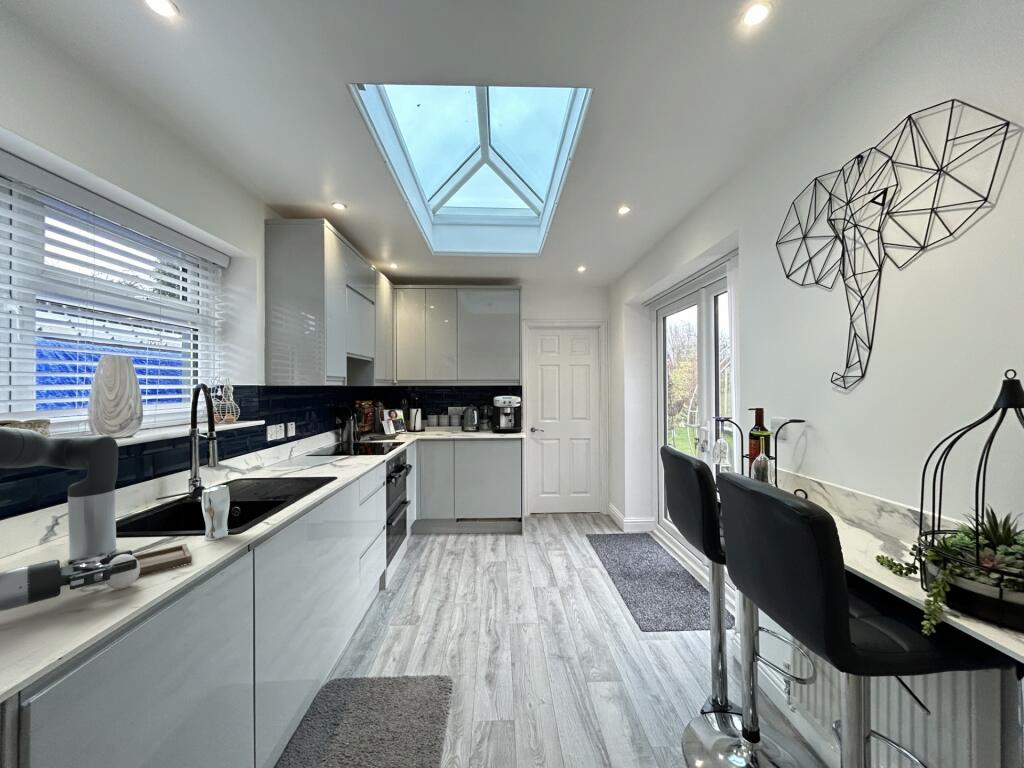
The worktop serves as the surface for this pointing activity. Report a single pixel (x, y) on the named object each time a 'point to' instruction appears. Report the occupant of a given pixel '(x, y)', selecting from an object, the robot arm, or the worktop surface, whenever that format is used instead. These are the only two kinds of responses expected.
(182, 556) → the walnut tray
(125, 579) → the egg
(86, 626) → the worktop surface
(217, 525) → the beer glass
